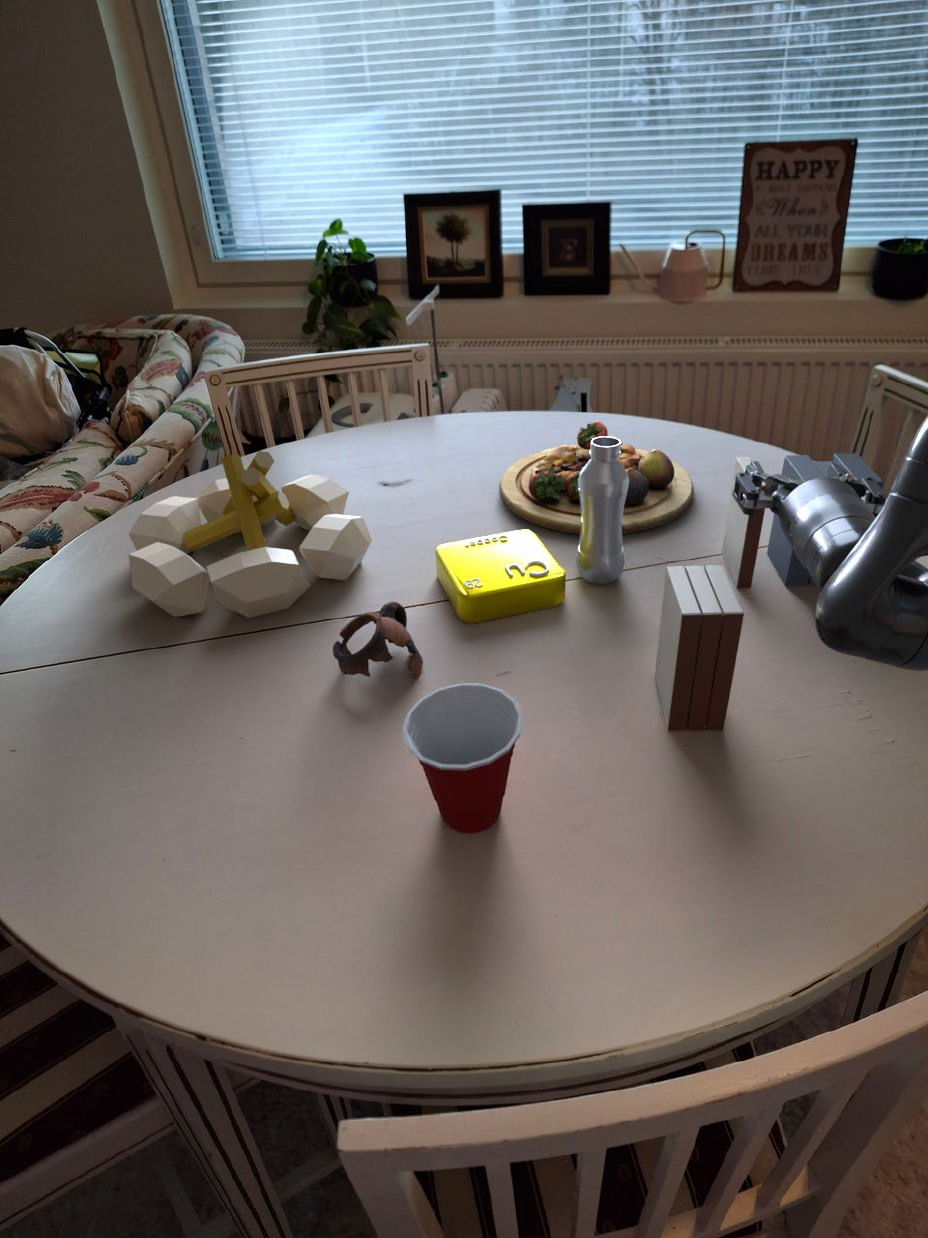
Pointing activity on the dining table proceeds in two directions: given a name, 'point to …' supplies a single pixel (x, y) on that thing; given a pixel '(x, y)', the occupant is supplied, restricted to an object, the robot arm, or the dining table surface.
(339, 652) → the brown looped sculpture
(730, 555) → the cream book
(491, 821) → the plastic cup
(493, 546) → the element tile
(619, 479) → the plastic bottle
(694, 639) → the white books
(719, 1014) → the dining table surface
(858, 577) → the robot arm
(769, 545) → the grey books
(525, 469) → the wooden plate
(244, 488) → the campfire
